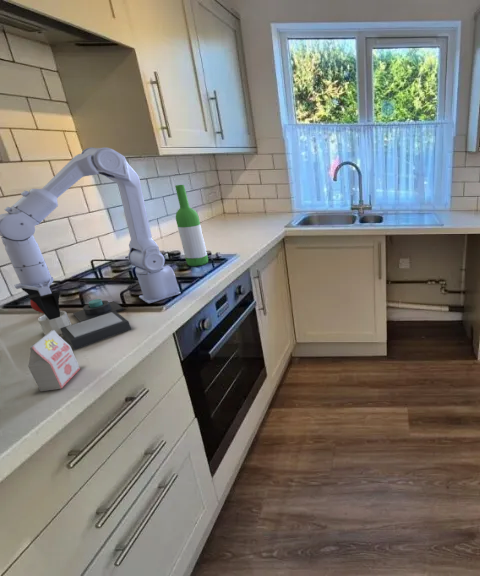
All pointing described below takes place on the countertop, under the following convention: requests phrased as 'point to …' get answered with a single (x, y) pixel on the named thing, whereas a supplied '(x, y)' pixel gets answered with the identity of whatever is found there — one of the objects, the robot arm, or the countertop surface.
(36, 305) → the onion
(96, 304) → the button
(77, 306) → the countertop surface
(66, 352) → the printed snack carton
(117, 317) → the scale
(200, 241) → the wine bottle
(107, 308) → the pad
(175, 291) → the robot arm
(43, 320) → the cup
